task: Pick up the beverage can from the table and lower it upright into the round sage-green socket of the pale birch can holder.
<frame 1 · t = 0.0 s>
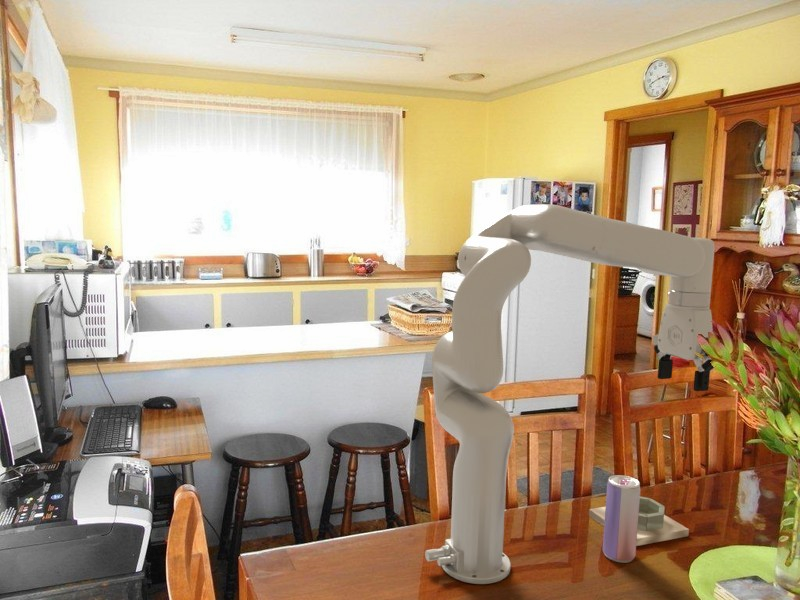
hand: (682, 384, 132), 31 cm above the table, tool pointing down, fingers open, 9 cm apart
beverage can: (618, 556, 125), on the table
can holder: (637, 525, 138), on the table
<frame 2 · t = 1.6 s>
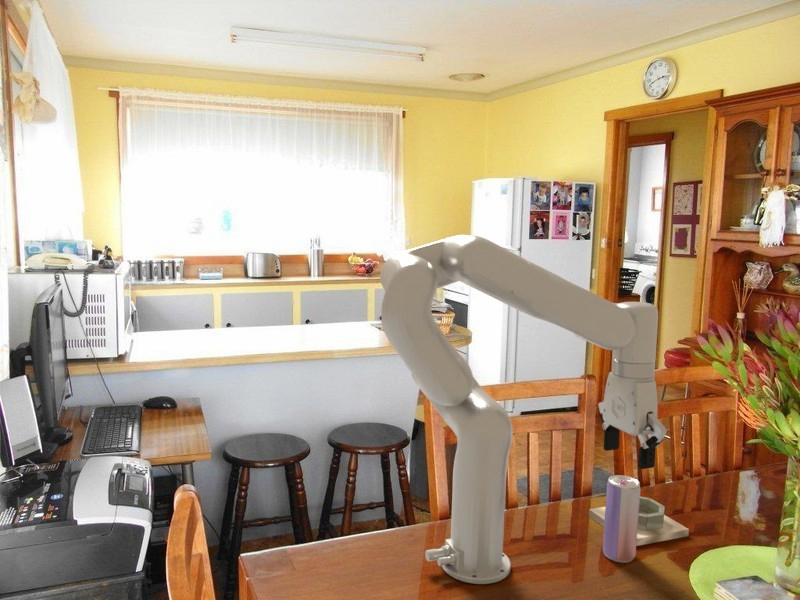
hand: (628, 458, 123), 19 cm above the table, tool pointing down, fingers open, 9 cm apart
nothing on the table moved.
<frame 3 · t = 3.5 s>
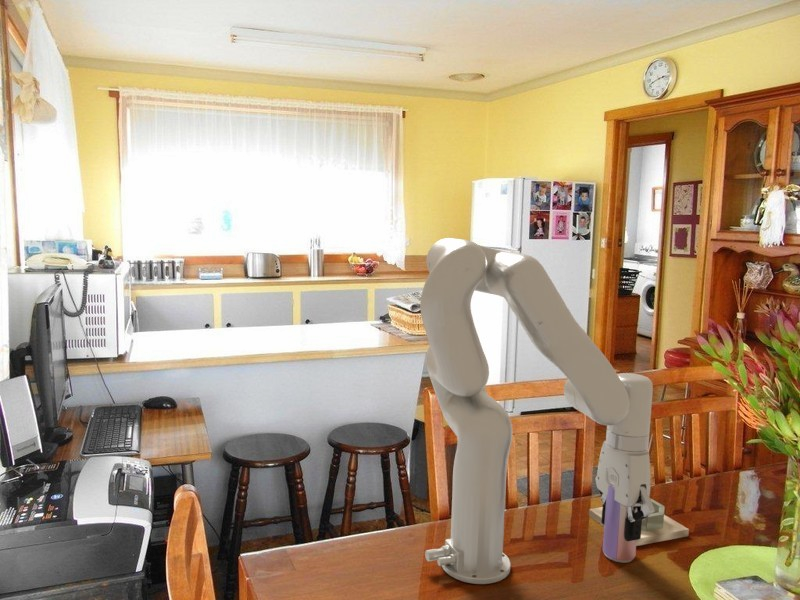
hand: (620, 530, 125), 5 cm above the table, tool pointing down, fingers closed on beverage can, 6 cm apart
beverage can: (618, 556, 125), on the table, touching gripper
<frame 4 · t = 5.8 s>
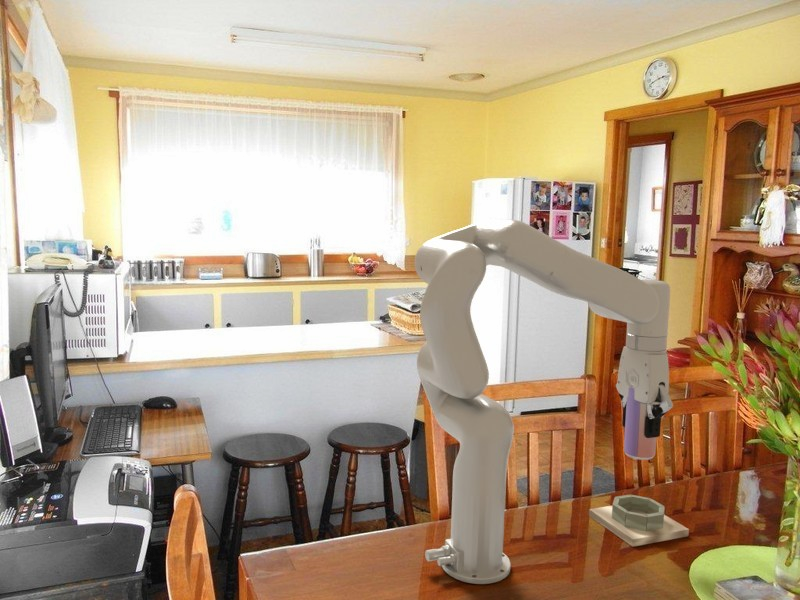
hand: (640, 430, 131), 22 cm above the table, tool pointing down, fingers closed on beverage can, 6 cm apart
beverage can: (639, 456, 132), point 17 cm above the table, touching gripper
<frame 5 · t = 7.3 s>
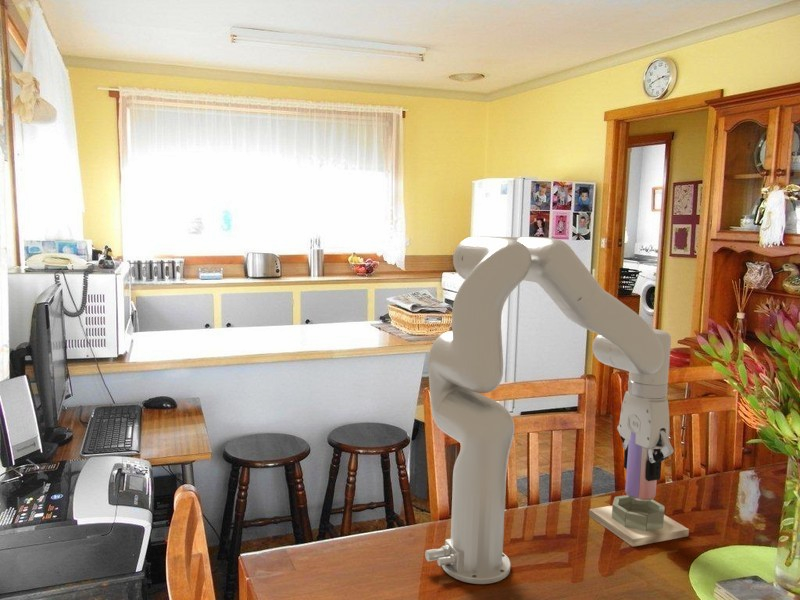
hand: (641, 472, 136), 12 cm above the table, tool pointing down, fingers closed on beverage can, 6 cm apart
beverage can: (639, 496, 137), point 6 cm above the table, touching gripper
when the fingers open (7 cm above the table, at t = 8.6 s): beverage can stays where it is, resting on can holder.
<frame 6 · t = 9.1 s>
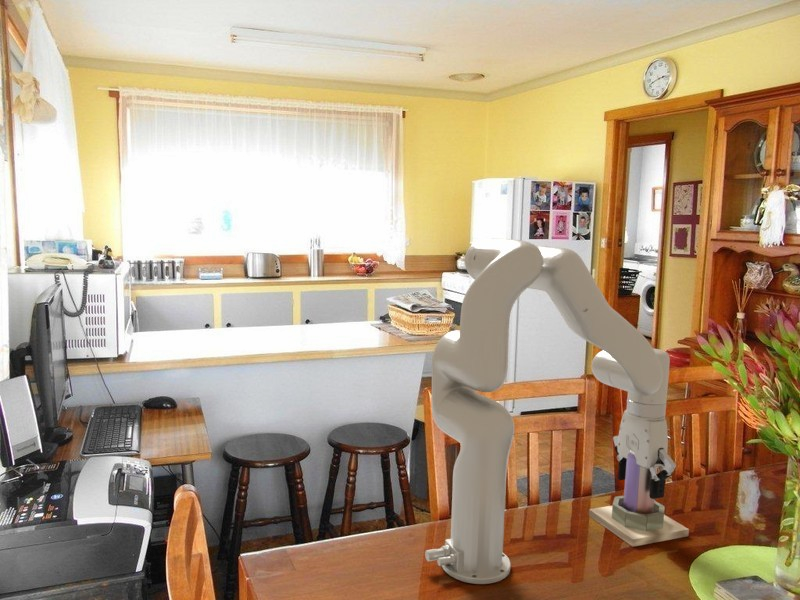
hand: (639, 488, 137), 8 cm above the table, tool pointing down, fingers open, 9 cm apart
beverage can: (637, 520, 137), point 1 cm above the table, touching can holder
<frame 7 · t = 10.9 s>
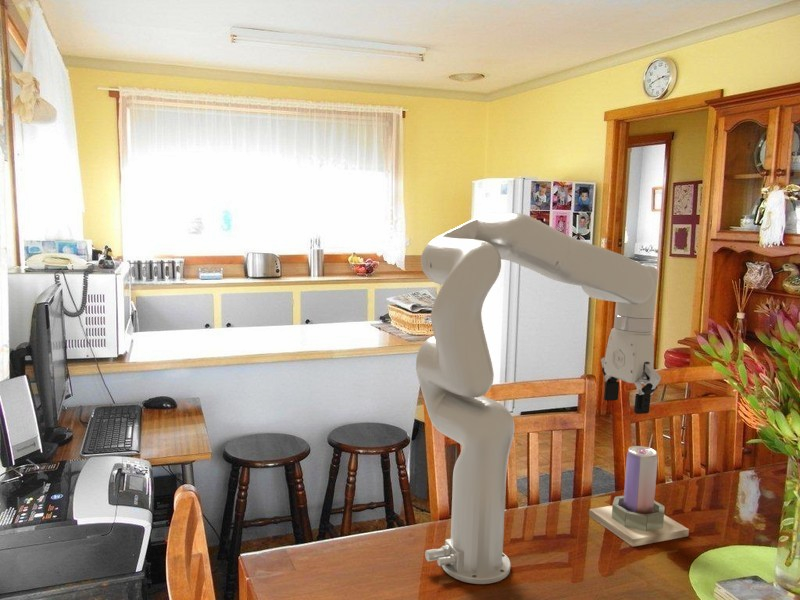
hand: (625, 406, 136), 25 cm above the table, tool pointing down, fingers open, 9 cm apart
nothing on the table moved.
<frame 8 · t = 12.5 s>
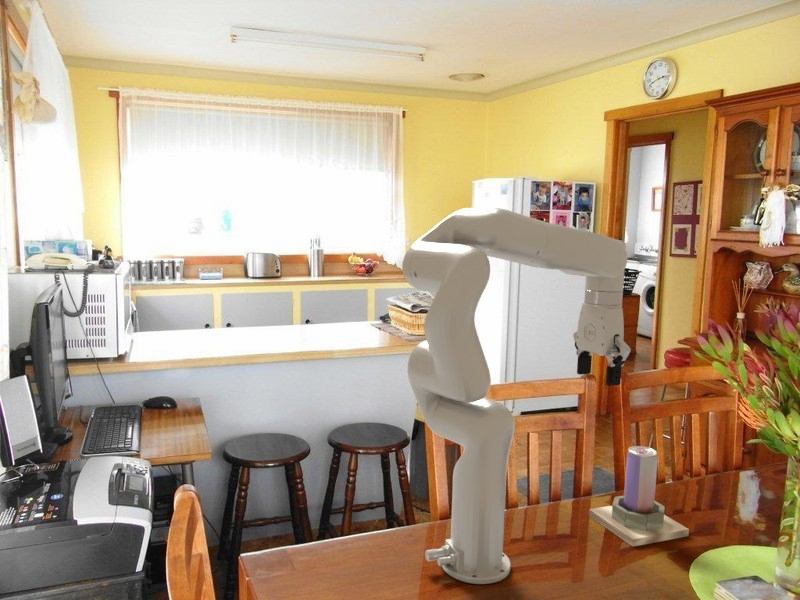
hand: (597, 379, 138), 30 cm above the table, tool pointing down, fingers open, 9 cm apart
nothing on the table moved.
at the end: beverage can 0.2 cm off-centre on the can holder, point 1.3 cm above the can holder's base; beverage can tilted 0°; the gripper is holding nothing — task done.
